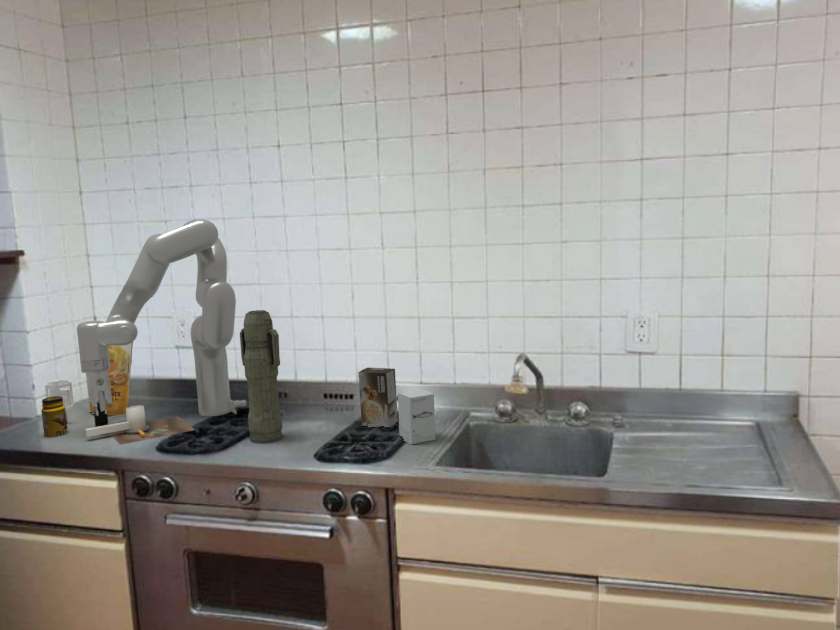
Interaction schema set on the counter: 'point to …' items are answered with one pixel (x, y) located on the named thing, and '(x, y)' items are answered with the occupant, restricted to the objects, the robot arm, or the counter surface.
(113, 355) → the pancake mix bag
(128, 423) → the white handled piece
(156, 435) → the brown square board
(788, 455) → the counter surface
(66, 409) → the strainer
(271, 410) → the thermos
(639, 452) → the counter surface
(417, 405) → the supplement box
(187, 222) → the robot arm
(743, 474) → the counter surface
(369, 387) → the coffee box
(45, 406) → the condiment
